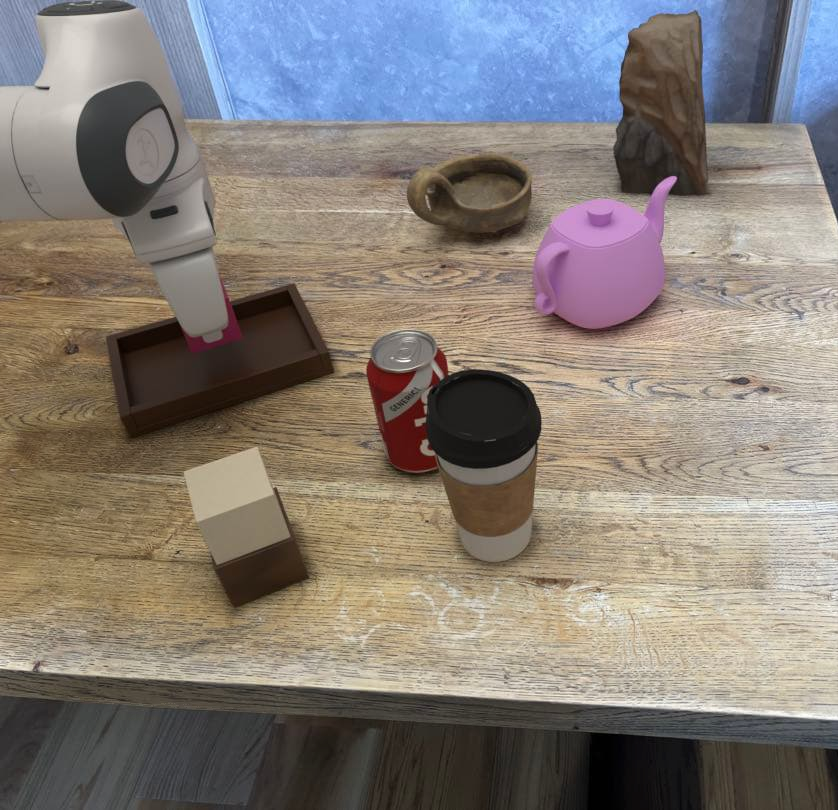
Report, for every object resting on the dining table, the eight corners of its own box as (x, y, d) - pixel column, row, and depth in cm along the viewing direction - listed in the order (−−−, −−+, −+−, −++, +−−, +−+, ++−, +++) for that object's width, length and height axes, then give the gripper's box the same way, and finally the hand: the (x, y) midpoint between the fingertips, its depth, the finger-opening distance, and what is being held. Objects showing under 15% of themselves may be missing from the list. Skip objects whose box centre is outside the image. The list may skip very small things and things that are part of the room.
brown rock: (611, 194, 110) (615, 39, 96) (615, 152, 119) (619, 5, 105) (707, 196, 108) (724, 39, 95) (703, 153, 118) (719, 5, 104)
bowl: (558, 219, 105) (556, 145, 99) (453, 274, 97) (443, 197, 90) (488, 184, 113) (482, 114, 106) (385, 232, 104) (371, 159, 98)
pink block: (192, 354, 80) (175, 312, 77) (184, 327, 84) (167, 286, 80) (243, 338, 82) (228, 297, 79) (233, 312, 85) (219, 272, 82)
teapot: (579, 362, 84) (579, 264, 76) (499, 306, 92) (492, 212, 84) (709, 286, 93) (722, 192, 85) (627, 241, 101) (631, 151, 93)
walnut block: (233, 608, 63) (214, 569, 60) (219, 553, 67) (200, 513, 64) (309, 578, 65) (294, 538, 62) (291, 526, 69) (276, 486, 66)
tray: (130, 438, 78) (119, 417, 76) (115, 357, 87) (105, 336, 85) (334, 372, 84) (328, 351, 82) (300, 303, 93) (294, 282, 91)
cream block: (217, 565, 60) (195, 522, 57) (204, 514, 64) (183, 471, 60) (290, 537, 62) (274, 493, 58) (274, 489, 65) (257, 445, 62)
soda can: (374, 471, 73) (348, 369, 65) (401, 420, 78) (380, 319, 70) (445, 483, 72) (428, 380, 64) (468, 431, 77) (455, 329, 69)
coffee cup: (467, 486, 72) (448, 353, 62) (559, 507, 70) (555, 373, 59) (429, 561, 66) (401, 428, 56) (528, 586, 64) (518, 452, 54)
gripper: (110, 157, 78) (160, 278, 88) (135, 258, 65) (191, 389, 74) (178, 142, 80) (220, 262, 90) (216, 237, 67) (261, 367, 76)
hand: (207, 320), depth 82 cm, fingers closed on pink block, 5 cm apart
